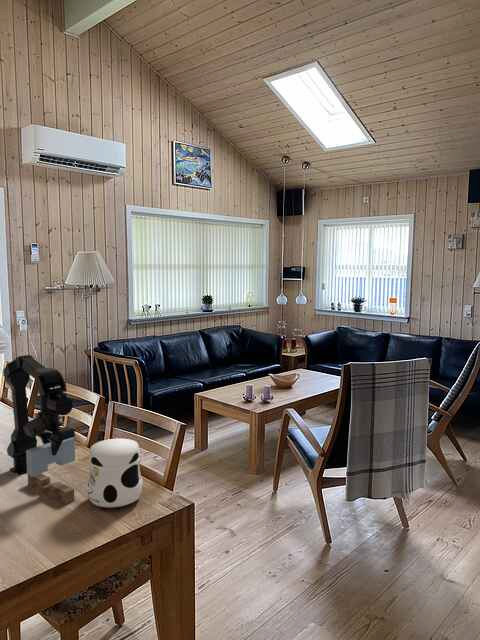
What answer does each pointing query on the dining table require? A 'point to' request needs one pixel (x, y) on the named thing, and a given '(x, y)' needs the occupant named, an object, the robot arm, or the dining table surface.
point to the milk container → (114, 473)
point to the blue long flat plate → (49, 456)
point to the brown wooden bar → (52, 488)
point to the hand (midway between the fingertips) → (51, 454)
